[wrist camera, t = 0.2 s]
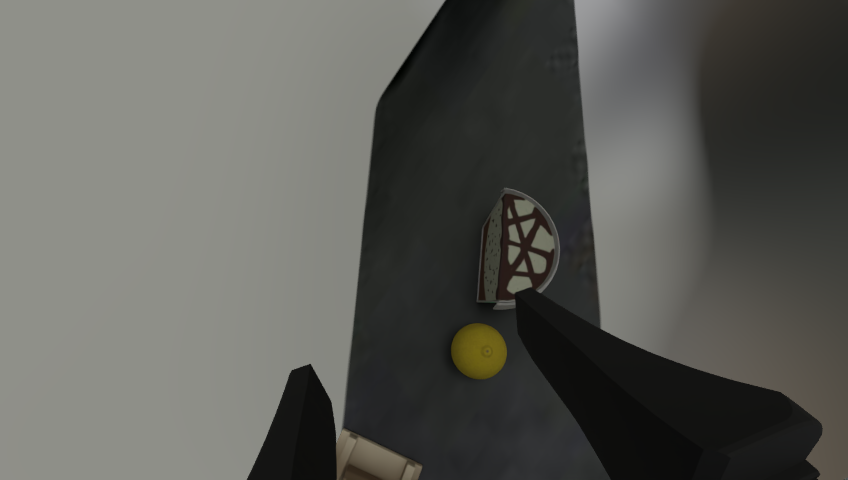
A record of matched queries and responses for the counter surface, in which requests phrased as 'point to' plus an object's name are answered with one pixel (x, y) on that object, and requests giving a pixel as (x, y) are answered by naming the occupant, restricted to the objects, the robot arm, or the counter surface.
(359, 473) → the block
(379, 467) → the track
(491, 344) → the lemon
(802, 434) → the robot arm
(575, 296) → the counter surface
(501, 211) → the food container
